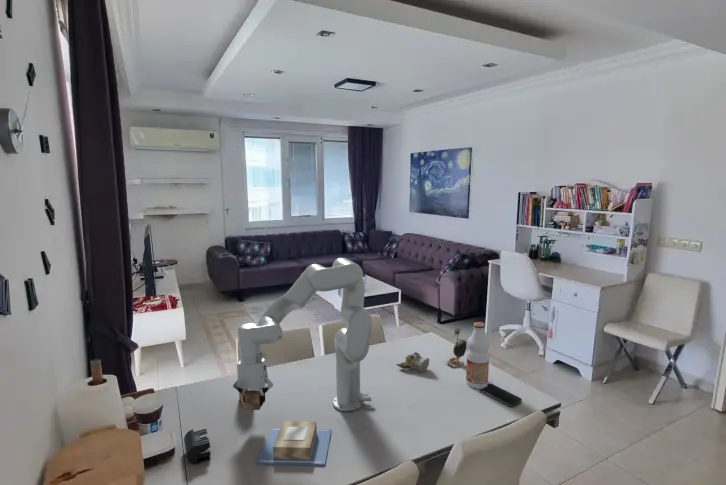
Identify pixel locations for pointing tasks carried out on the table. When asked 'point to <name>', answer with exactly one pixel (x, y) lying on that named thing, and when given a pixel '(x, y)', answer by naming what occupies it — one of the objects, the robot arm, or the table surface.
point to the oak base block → (295, 440)
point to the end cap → (197, 446)
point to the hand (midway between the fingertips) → (254, 403)
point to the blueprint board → (316, 459)
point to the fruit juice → (477, 358)
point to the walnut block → (252, 399)
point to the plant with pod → (458, 350)
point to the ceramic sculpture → (415, 362)
